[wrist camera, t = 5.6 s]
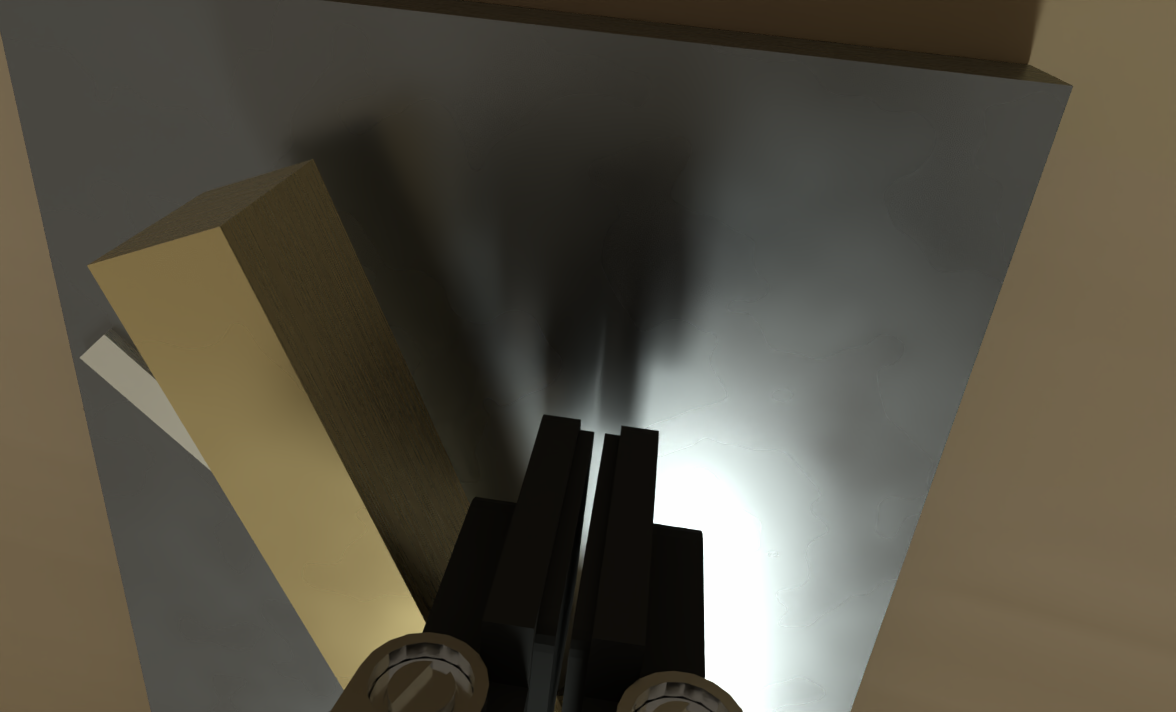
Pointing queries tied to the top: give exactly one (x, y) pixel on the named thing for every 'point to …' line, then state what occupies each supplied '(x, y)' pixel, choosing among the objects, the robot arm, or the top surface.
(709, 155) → the flat grey rectangular plate
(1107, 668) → the top surface
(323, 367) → the lever with round hub
